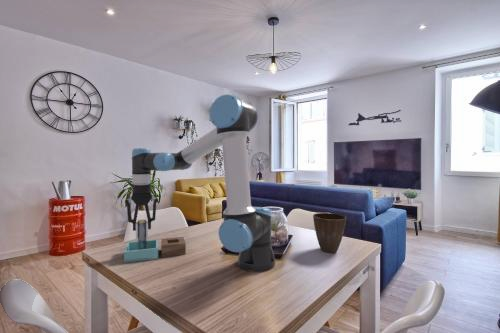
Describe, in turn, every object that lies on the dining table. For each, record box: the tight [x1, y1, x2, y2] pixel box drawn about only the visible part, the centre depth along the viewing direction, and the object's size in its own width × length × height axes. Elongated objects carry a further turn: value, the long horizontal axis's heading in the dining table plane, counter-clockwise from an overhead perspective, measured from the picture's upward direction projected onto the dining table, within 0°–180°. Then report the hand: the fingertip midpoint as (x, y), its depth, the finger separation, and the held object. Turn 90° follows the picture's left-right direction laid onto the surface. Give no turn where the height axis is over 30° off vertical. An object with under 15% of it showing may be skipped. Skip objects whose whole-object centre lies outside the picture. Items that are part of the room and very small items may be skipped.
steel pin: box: [137, 219, 147, 250], centre depth 114 cm, size 4×4×14 cm
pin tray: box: [123, 238, 159, 264], centre depth 114 cm, size 13×13×4 cm
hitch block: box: [160, 236, 187, 258], centre depth 118 cm, size 10×10×5 cm
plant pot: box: [312, 212, 347, 253], centre depth 121 cm, size 15×15×16 cm
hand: (142, 237), depth 113 cm, fingers closed on steel pin, 3 cm apart
